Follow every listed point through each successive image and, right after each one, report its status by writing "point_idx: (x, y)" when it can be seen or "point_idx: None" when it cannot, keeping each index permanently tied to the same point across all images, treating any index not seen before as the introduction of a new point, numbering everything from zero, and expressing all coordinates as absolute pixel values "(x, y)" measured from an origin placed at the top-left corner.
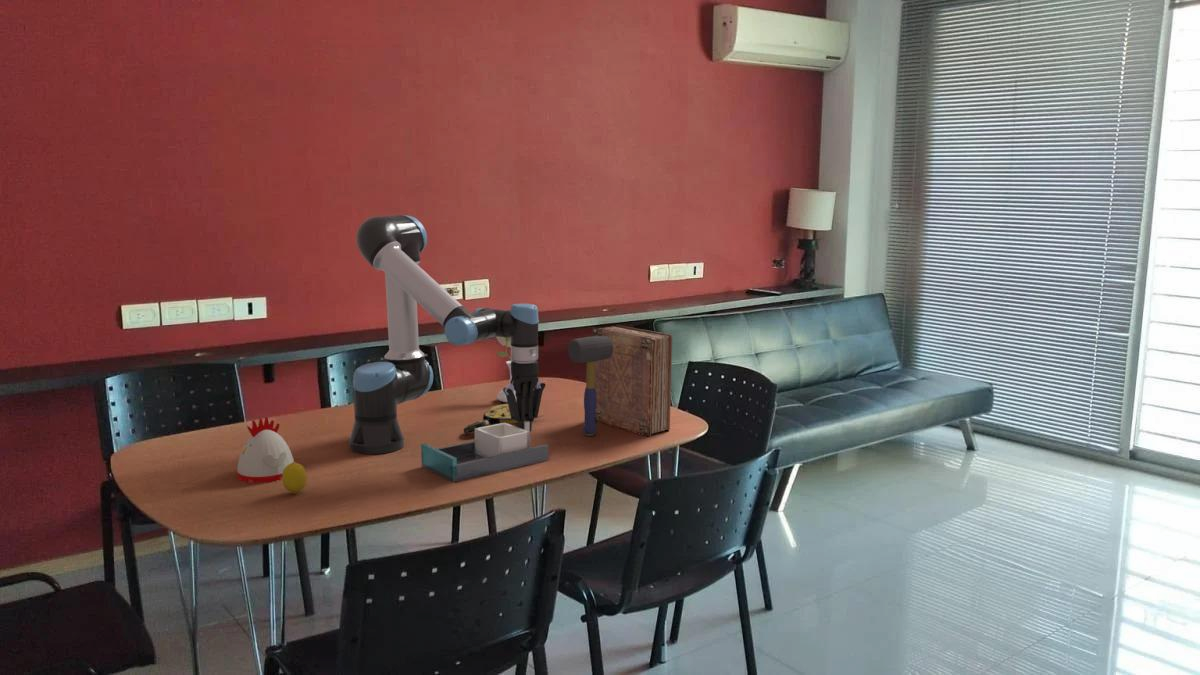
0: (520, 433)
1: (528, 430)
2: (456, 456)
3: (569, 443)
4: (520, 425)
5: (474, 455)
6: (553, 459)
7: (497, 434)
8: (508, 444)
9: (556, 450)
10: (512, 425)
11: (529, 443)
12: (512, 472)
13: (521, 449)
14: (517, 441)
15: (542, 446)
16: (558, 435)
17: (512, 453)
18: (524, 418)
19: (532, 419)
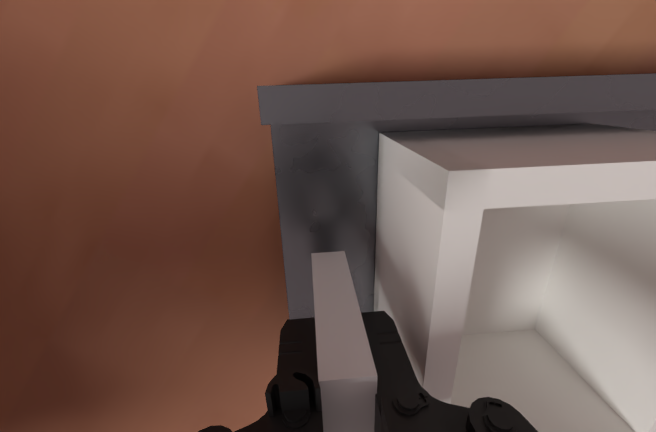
0: (561, 182)
1: (325, 314)
2: None
3: (14, 277)
4: (411, 365)
5: None
6: (234, 80)
7: (463, 392)
8: (639, 143)
9: (138, 215)
10: None
11: (412, 147)
12: (573, 16)
13: (471, 139)
14: (557, 149)
15: (318, 86)
16: (29, 394)
17: (604, 75)
18: (397, 425)
19: (292, 391)
